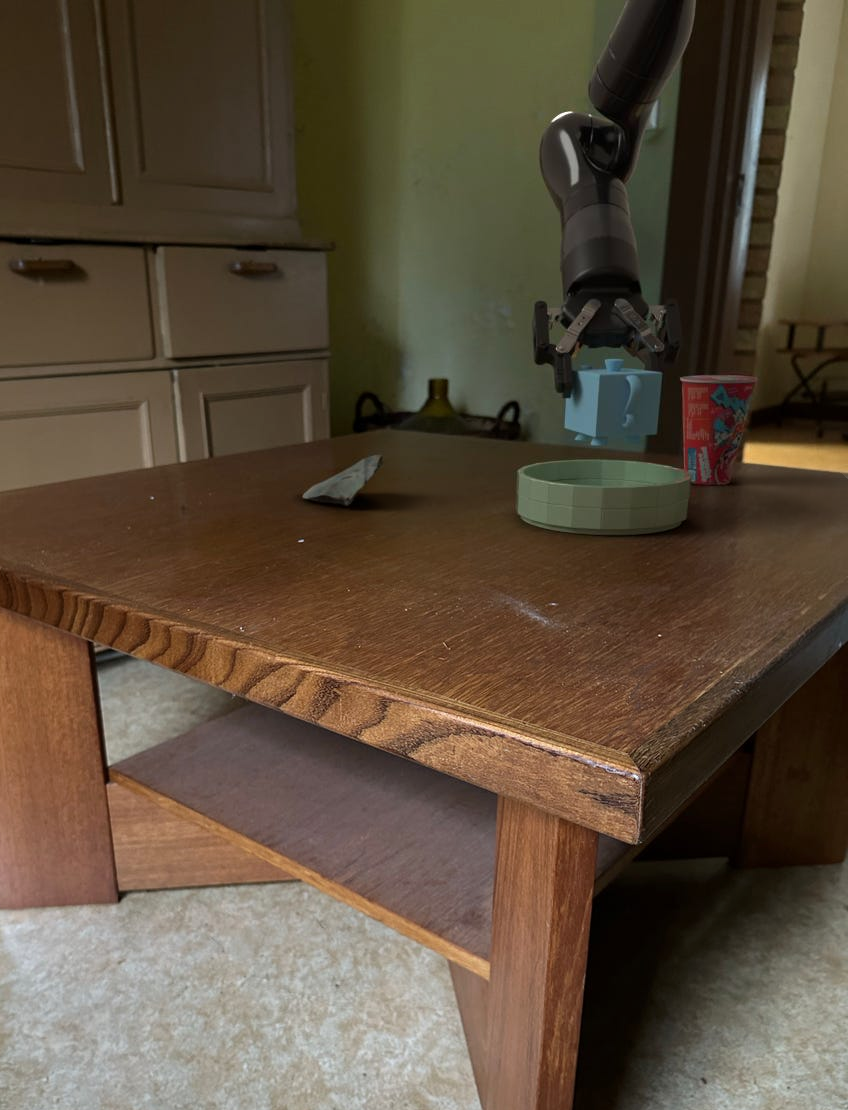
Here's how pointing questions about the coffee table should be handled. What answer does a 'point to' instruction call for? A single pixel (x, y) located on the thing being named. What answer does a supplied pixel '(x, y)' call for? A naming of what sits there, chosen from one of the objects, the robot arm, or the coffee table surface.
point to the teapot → (613, 403)
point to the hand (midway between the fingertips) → (611, 392)
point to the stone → (345, 482)
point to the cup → (714, 424)
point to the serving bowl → (603, 496)
